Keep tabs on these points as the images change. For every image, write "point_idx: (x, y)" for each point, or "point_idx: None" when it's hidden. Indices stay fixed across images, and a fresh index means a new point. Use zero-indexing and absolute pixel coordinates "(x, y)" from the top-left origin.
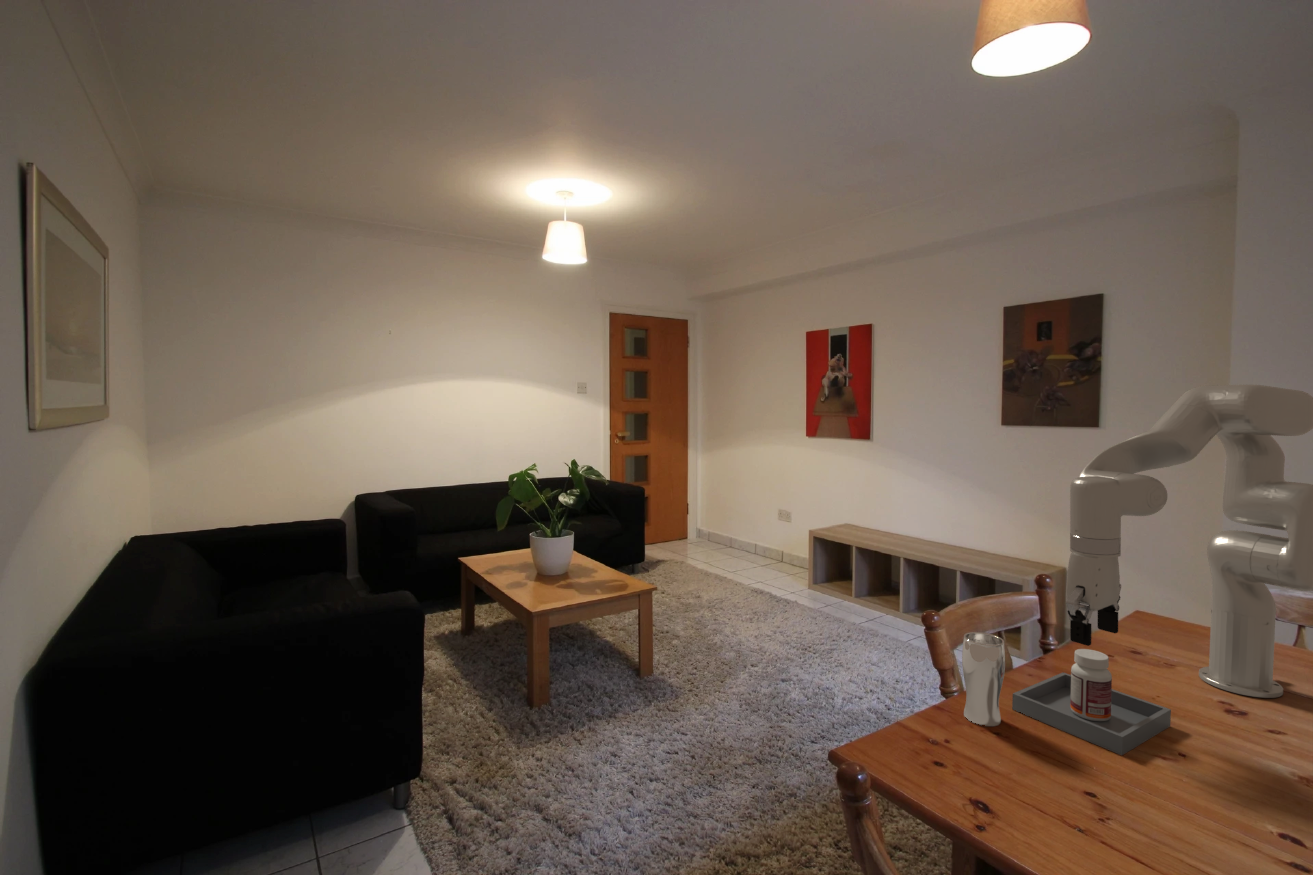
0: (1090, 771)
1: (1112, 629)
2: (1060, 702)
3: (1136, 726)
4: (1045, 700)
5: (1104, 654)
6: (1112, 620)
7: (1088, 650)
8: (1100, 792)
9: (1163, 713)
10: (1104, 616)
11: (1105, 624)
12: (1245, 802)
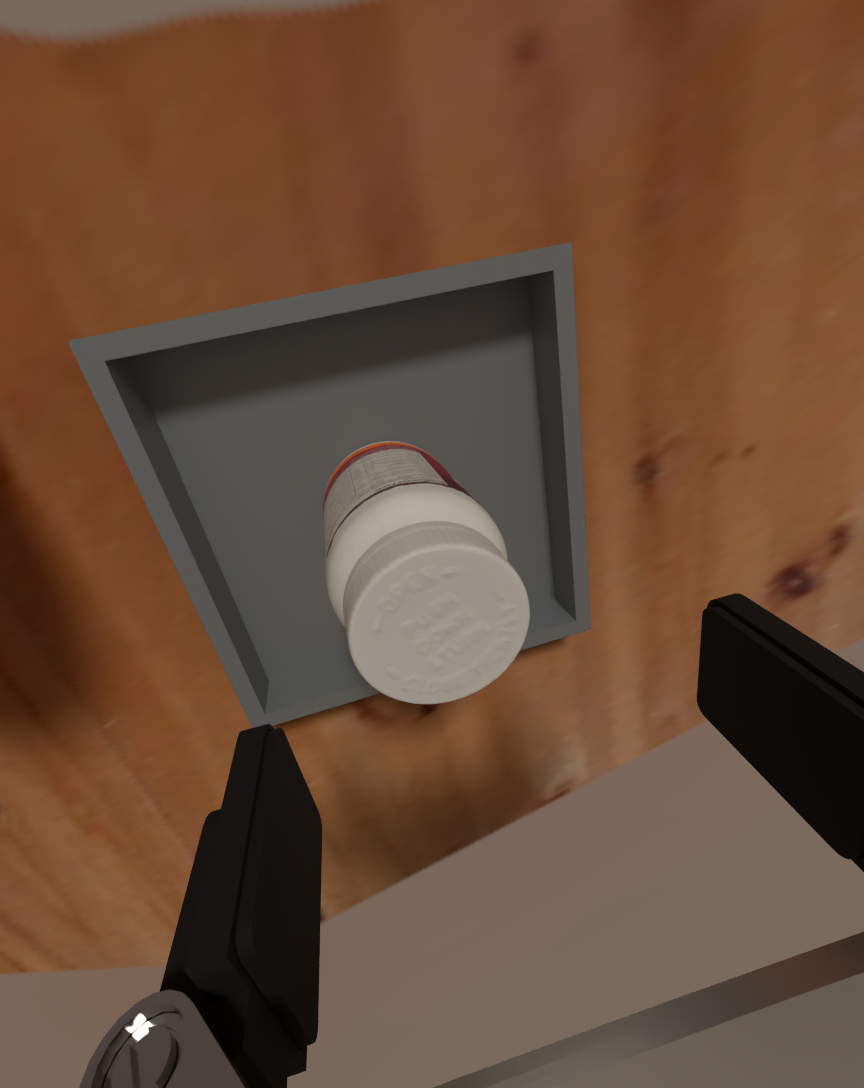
0: (79, 735)
1: (714, 709)
2: (366, 390)
3: (369, 688)
4: (316, 351)
5: (514, 648)
6: (778, 773)
7: (489, 579)
8: (22, 806)
9: (540, 643)
10: (806, 738)
11: (741, 685)
12: (354, 846)
